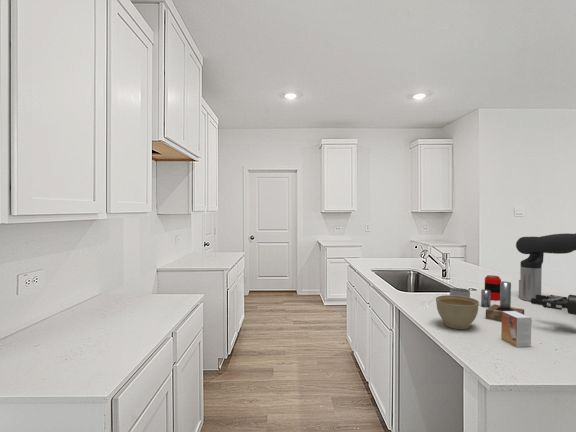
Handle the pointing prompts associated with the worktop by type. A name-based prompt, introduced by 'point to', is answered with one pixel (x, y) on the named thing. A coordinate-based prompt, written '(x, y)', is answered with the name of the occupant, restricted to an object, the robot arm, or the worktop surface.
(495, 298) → the soda can
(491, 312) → the walnut bored block
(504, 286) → the long steel pin
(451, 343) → the worktop surface
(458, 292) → the cup
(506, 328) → the small box
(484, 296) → the short steel pin
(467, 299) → the planter bowl
